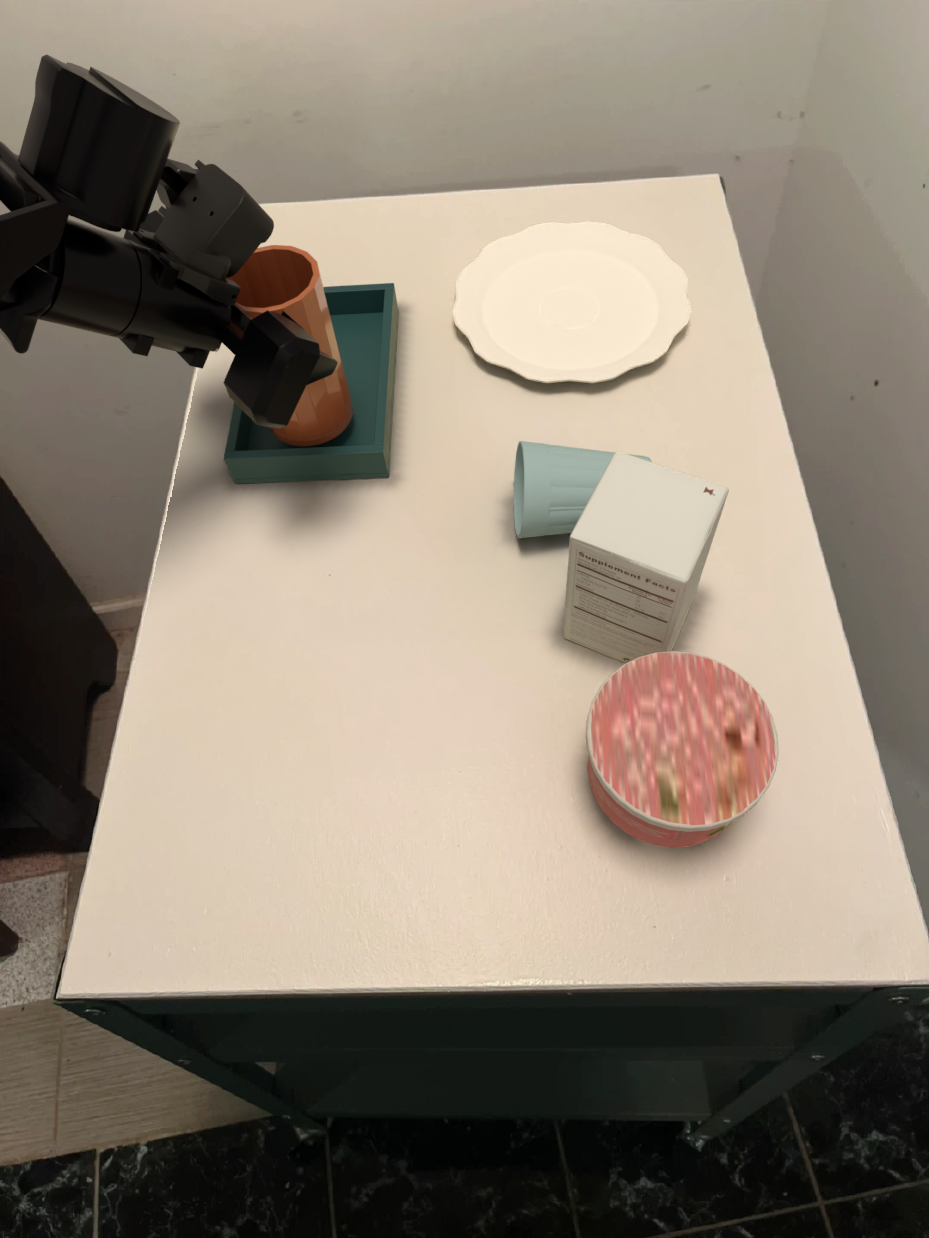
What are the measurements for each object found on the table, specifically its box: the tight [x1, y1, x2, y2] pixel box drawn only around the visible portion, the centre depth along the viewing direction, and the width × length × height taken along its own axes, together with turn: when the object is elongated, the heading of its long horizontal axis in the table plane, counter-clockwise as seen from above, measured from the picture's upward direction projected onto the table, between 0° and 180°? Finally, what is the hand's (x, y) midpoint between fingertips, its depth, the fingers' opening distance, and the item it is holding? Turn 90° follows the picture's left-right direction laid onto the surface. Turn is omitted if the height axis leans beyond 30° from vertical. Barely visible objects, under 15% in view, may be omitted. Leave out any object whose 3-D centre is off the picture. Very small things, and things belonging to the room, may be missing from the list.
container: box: [585, 650, 780, 849], centre depth 49 cm, size 10×10×8 cm
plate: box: [451, 220, 692, 384], centre depth 74 cm, size 21×21×2 cm
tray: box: [223, 282, 399, 485], centre depth 70 cm, size 20×13×3 cm, turn 0°
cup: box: [513, 440, 653, 539], centre depth 61 cm, size 7×7×10 cm
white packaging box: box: [562, 451, 730, 664], centre depth 53 cm, size 7×7×13 cm
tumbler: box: [225, 244, 353, 447], centre depth 62 cm, size 7×7×13 cm
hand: (306, 342), depth 62 cm, fingers closed on tumbler, 7 cm apart
